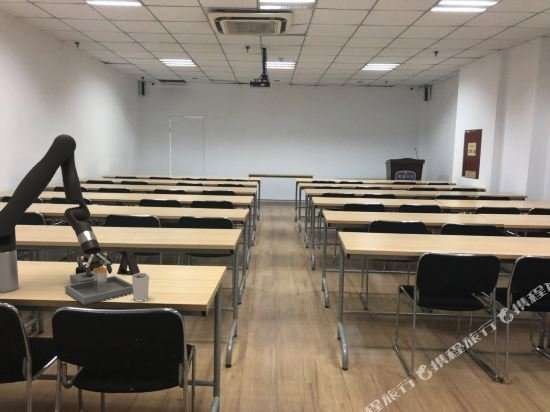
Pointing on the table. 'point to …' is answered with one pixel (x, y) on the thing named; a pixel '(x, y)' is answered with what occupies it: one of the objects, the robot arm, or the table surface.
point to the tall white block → (100, 279)
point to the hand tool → (88, 267)
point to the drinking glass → (140, 286)
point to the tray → (88, 295)
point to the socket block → (81, 278)
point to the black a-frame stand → (128, 263)
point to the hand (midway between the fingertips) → (100, 274)
